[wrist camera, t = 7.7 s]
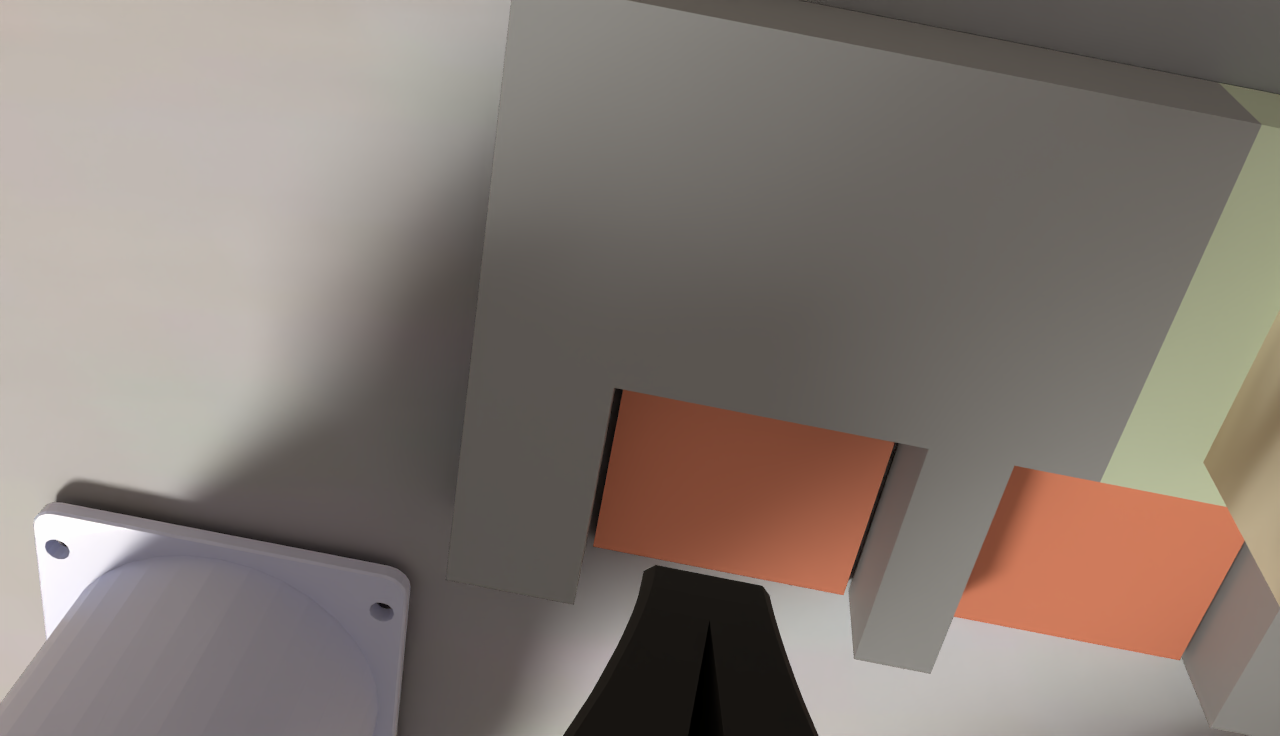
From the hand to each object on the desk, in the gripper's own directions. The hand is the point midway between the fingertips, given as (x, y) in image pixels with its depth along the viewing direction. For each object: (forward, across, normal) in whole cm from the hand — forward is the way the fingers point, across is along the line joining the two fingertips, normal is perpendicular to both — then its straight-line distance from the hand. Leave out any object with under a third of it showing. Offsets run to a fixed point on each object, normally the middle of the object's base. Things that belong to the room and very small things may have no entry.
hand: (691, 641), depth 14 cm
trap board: (+9, -5, +1) cm, 11 cm away
